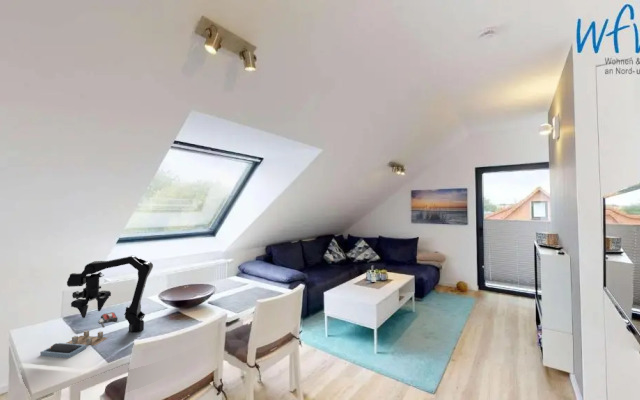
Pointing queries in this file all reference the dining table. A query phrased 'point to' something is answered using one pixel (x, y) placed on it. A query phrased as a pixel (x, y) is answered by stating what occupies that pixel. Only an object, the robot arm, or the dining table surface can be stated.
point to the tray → (64, 355)
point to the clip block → (87, 339)
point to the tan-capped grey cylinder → (63, 348)
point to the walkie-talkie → (108, 318)
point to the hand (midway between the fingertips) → (91, 314)
